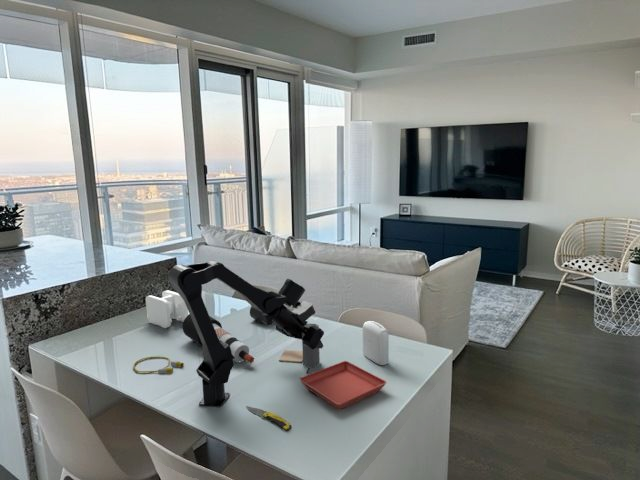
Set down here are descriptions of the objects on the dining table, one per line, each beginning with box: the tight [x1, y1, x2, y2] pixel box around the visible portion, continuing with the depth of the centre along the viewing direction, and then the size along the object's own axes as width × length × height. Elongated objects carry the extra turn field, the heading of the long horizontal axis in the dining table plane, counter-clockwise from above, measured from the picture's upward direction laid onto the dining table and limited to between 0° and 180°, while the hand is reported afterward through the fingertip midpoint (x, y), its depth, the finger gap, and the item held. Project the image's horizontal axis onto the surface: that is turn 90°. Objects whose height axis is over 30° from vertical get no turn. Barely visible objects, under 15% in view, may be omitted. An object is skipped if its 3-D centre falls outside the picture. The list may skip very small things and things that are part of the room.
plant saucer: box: [298, 360, 387, 410], centre depth 125 cm, size 18×18×3 cm
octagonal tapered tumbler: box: [301, 323, 321, 368], centre depth 140 cm, size 5×5×12 cm
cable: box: [182, 313, 255, 364], centre depth 150 cm, size 10×34×10 cm, turn 46°
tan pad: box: [278, 349, 303, 363], centre depth 146 cm, size 8×8×1 cm
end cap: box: [249, 305, 275, 325], centre depth 178 cm, size 10×7×7 cm
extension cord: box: [133, 356, 185, 375], centre depth 141 cm, size 12×16×2 cm
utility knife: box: [245, 405, 292, 432], centre depth 112 cm, size 16×1×3 cm
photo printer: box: [362, 320, 390, 366], centre depth 142 cm, size 10×4×12 cm, turn 29°
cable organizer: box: [145, 289, 189, 329], centre depth 179 cm, size 15×11×12 cm
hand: (314, 342), depth 141 cm, fingers open, 8 cm apart
